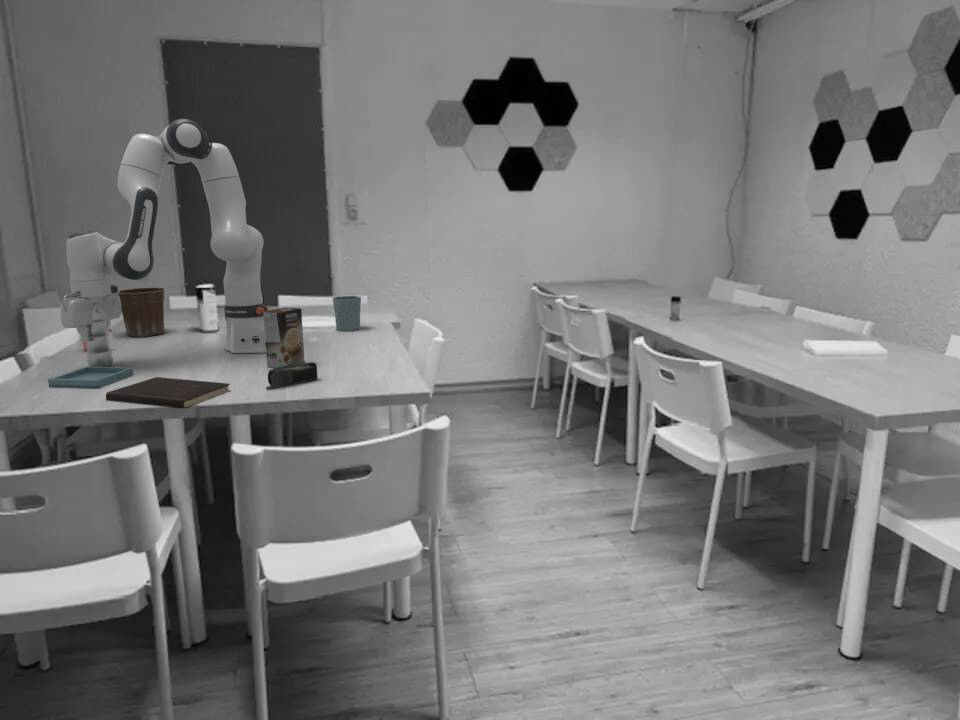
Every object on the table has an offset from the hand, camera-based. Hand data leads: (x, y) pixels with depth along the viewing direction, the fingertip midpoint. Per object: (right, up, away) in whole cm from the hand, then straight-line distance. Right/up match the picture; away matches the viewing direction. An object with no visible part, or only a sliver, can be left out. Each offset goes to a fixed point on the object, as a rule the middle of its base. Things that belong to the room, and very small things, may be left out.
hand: (95, 338), depth 193 cm
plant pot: (-12, +3, +53) cm, 55 cm away
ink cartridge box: (-14, -3, +27) cm, 30 cm away
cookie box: (+53, -8, +3) cm, 54 cm away
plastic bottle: (+1, -9, +2) cm, 9 cm away
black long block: (+61, -13, -18) cm, 65 cm away
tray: (+6, -12, -13) cm, 18 cm away
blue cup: (+61, +5, +58) cm, 84 cm away
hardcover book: (+34, -15, -27) cm, 46 cm away
